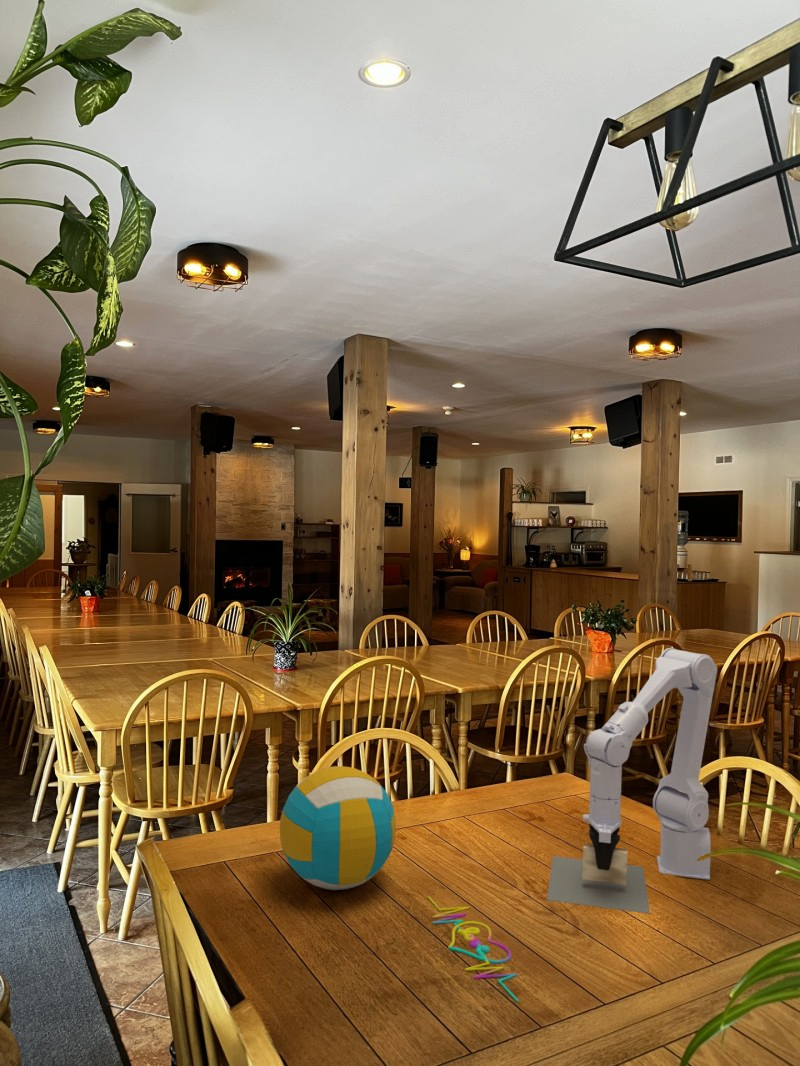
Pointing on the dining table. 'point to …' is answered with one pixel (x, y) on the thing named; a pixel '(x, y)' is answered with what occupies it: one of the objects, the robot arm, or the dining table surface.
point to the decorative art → (475, 944)
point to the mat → (596, 887)
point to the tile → (609, 876)
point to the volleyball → (337, 828)
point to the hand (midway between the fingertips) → (603, 866)
